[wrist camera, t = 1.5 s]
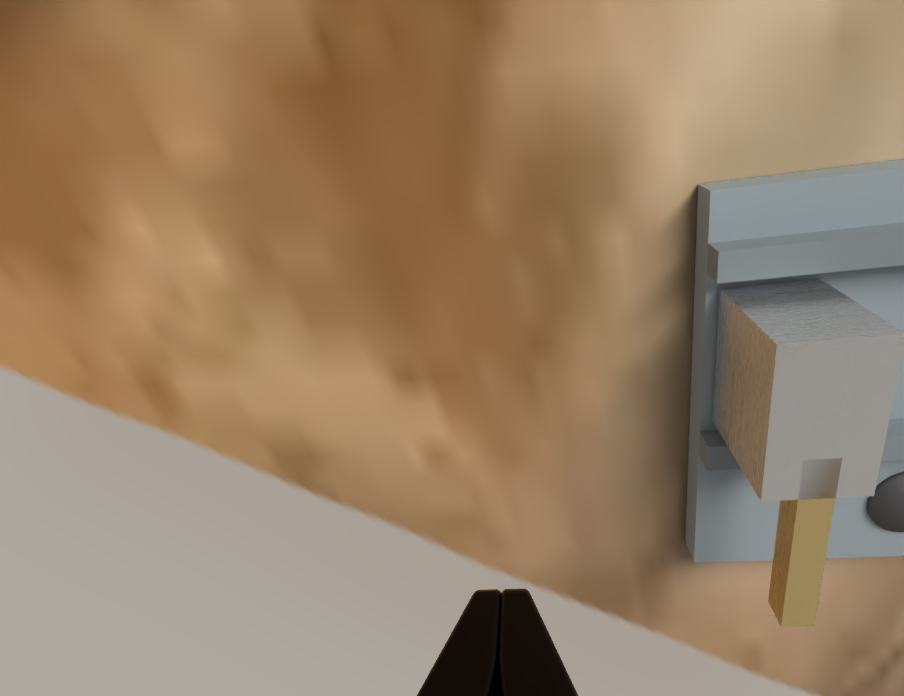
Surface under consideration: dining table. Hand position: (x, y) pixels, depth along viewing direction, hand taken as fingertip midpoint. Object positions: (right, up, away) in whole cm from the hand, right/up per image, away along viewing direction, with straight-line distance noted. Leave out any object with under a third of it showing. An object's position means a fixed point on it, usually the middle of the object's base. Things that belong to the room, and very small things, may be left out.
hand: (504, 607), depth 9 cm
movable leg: (+8, +2, +7) cm, 11 cm away
